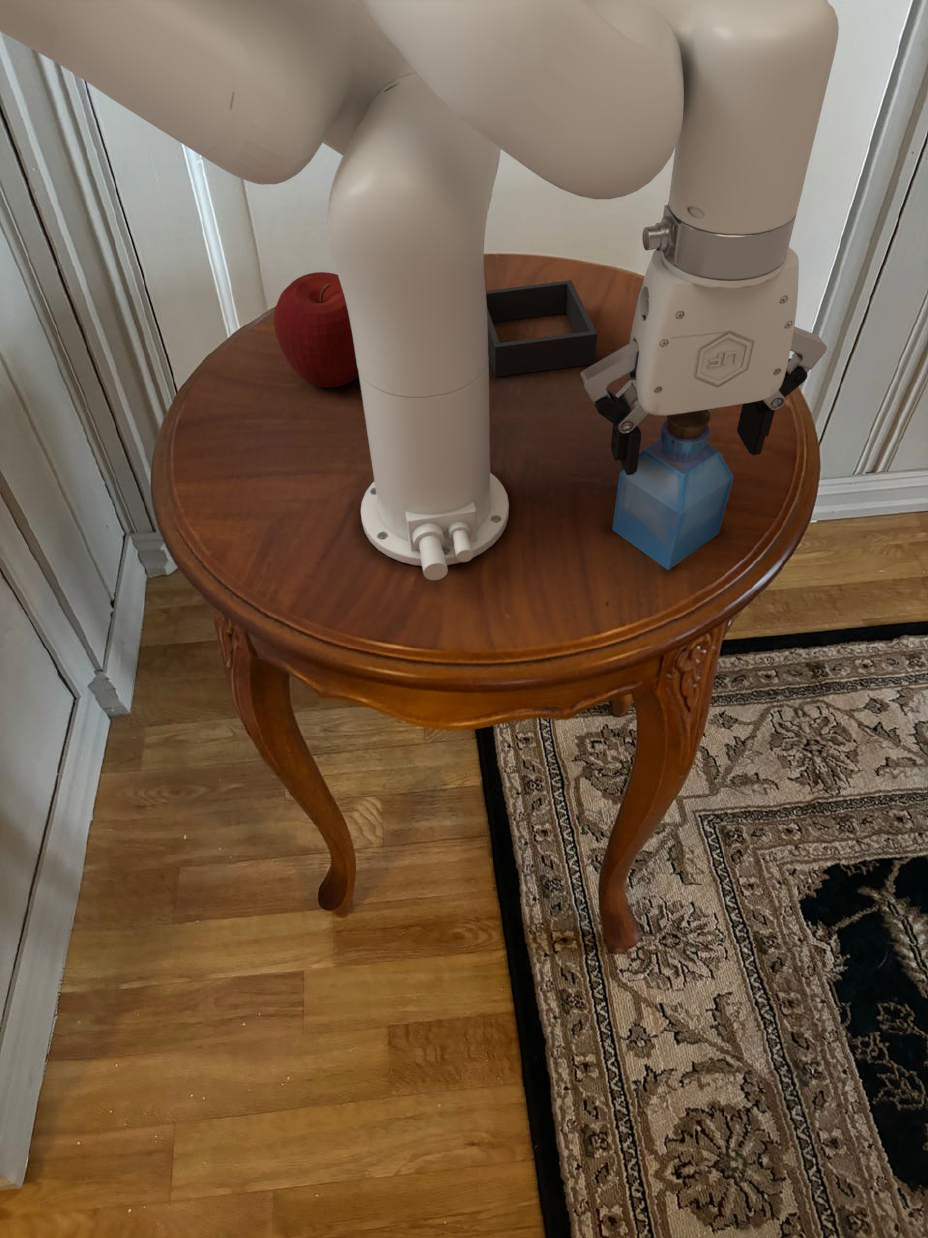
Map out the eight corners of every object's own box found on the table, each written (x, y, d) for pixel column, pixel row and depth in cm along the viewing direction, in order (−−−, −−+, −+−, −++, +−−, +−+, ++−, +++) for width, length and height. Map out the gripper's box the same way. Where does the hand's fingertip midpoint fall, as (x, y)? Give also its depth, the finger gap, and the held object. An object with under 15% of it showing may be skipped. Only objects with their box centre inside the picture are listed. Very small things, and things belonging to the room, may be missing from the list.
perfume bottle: (718, 533, 74) (749, 416, 64) (668, 570, 71) (693, 453, 62) (662, 496, 77) (684, 378, 68) (612, 529, 74) (627, 413, 65)
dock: (594, 364, 89) (597, 333, 87) (495, 377, 89) (495, 346, 86) (569, 309, 96) (571, 279, 93) (476, 321, 95) (475, 291, 92)
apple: (300, 415, 86) (280, 322, 78) (276, 362, 91) (255, 271, 84) (393, 390, 88) (382, 297, 80) (363, 340, 93) (351, 249, 86)
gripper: (606, 286, 51) (589, 504, 64) (889, 245, 53) (816, 467, 66) (573, 225, 56) (564, 439, 69) (834, 189, 57) (776, 406, 71)
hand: (687, 453), depth 67 cm, fingers open, 9 cm apart
